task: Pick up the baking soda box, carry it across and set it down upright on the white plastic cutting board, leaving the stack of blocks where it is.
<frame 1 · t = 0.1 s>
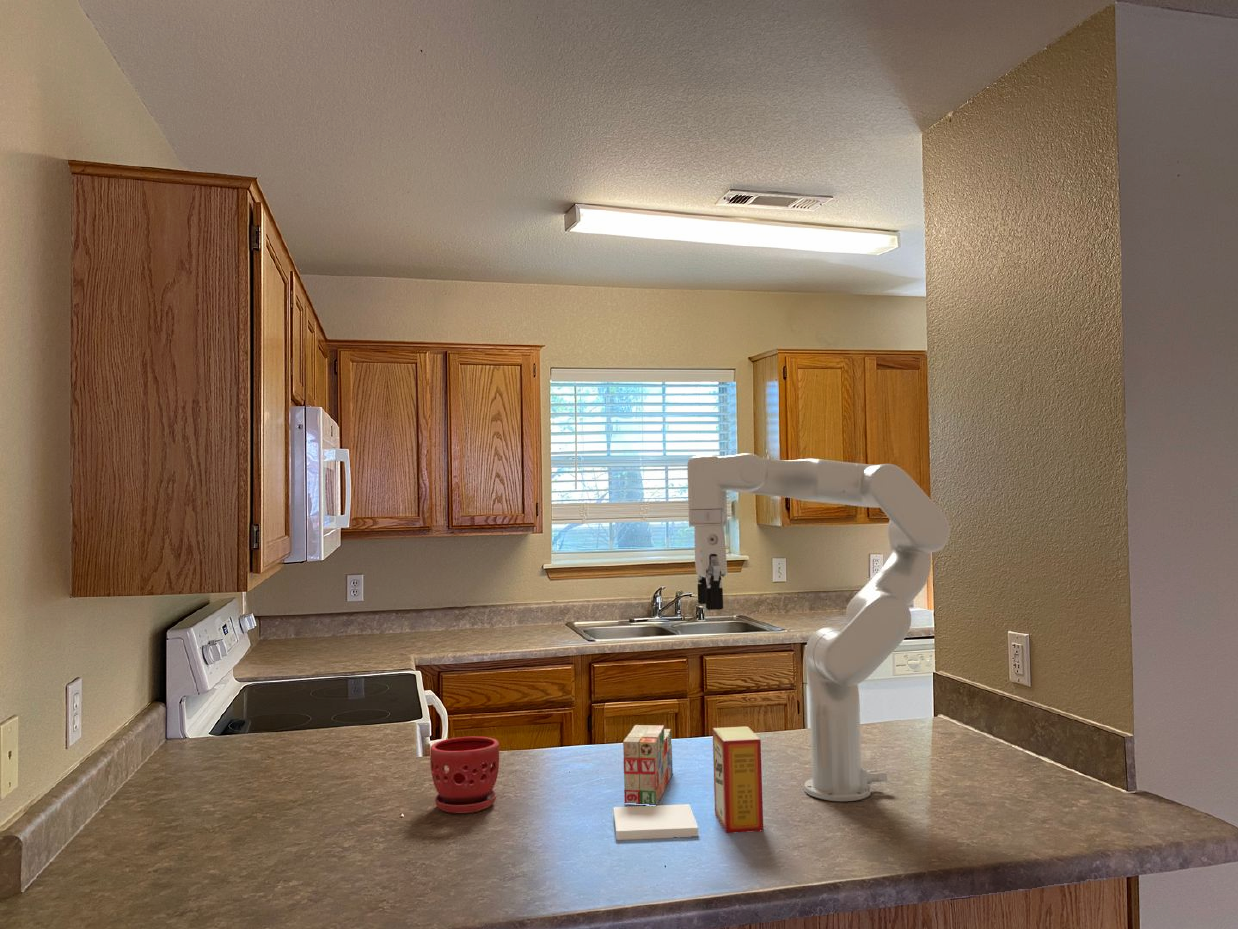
hand: (710, 606, 175), 37 cm above the worktop, tool pointing down, fingers open, 9 cm apart
stack of blocks: (650, 789, 180), on the worktop
cutting board: (654, 825, 159), on the worktop
baking soda box: (738, 823, 160), on the worktop
plant pot: (465, 806, 172), on the worktop
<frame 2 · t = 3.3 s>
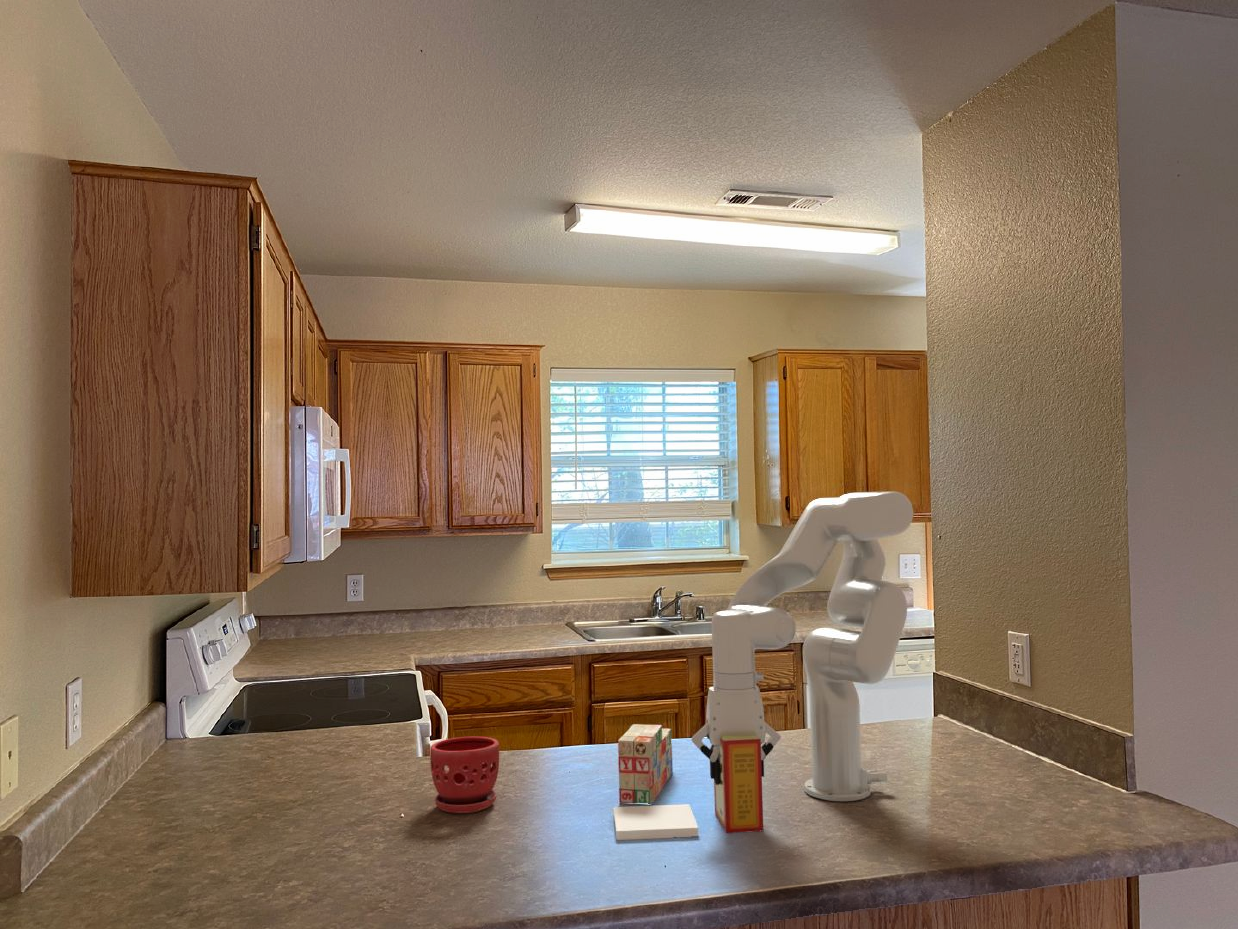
hand: (737, 780, 160), 7 cm above the worktop, tool pointing down, fingers closed on baking soda box, 6 cm apart
baking soda box: (738, 823, 160), on the worktop, touching gripper
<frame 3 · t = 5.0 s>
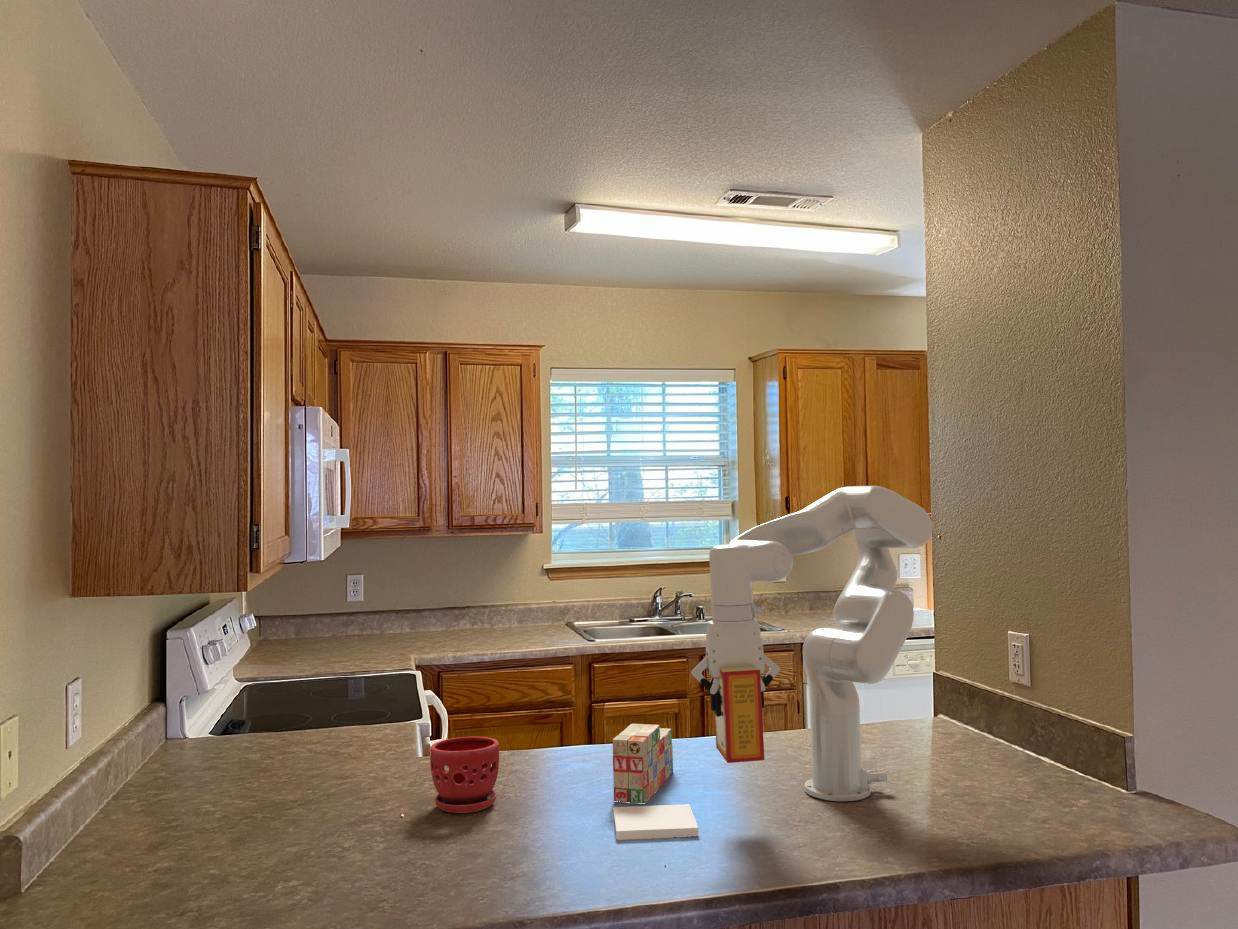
hand: (737, 712, 161), 19 cm above the worktop, tool pointing down, fingers closed on baking soda box, 6 cm apart
baking soda box: (739, 755, 161), point 12 cm above the worktop, touching gripper
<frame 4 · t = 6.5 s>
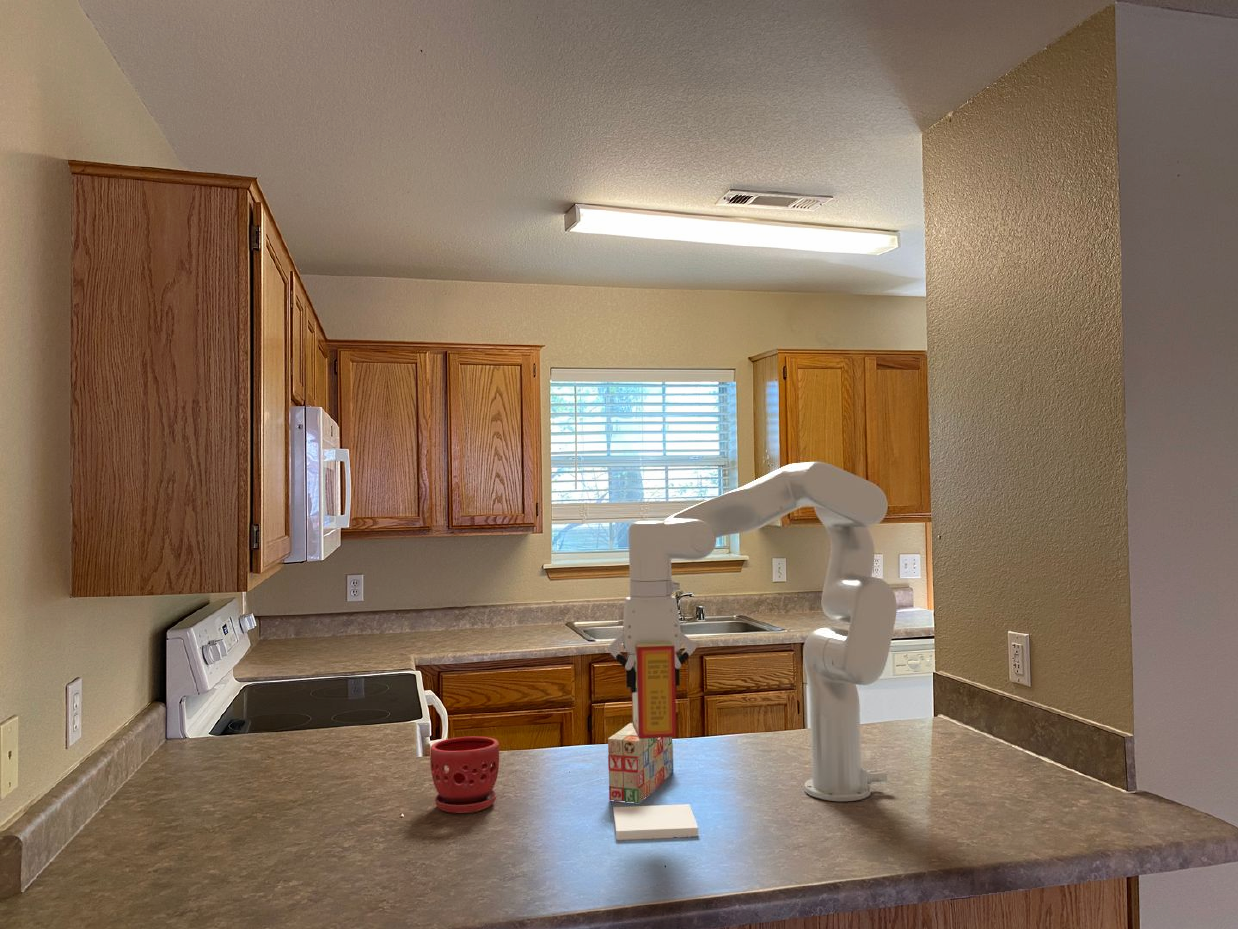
hand: (653, 690, 160), 24 cm above the worktop, tool pointing down, fingers closed on baking soda box, 6 cm apart
baking soda box: (654, 732, 160), point 16 cm above the worktop, touching gripper
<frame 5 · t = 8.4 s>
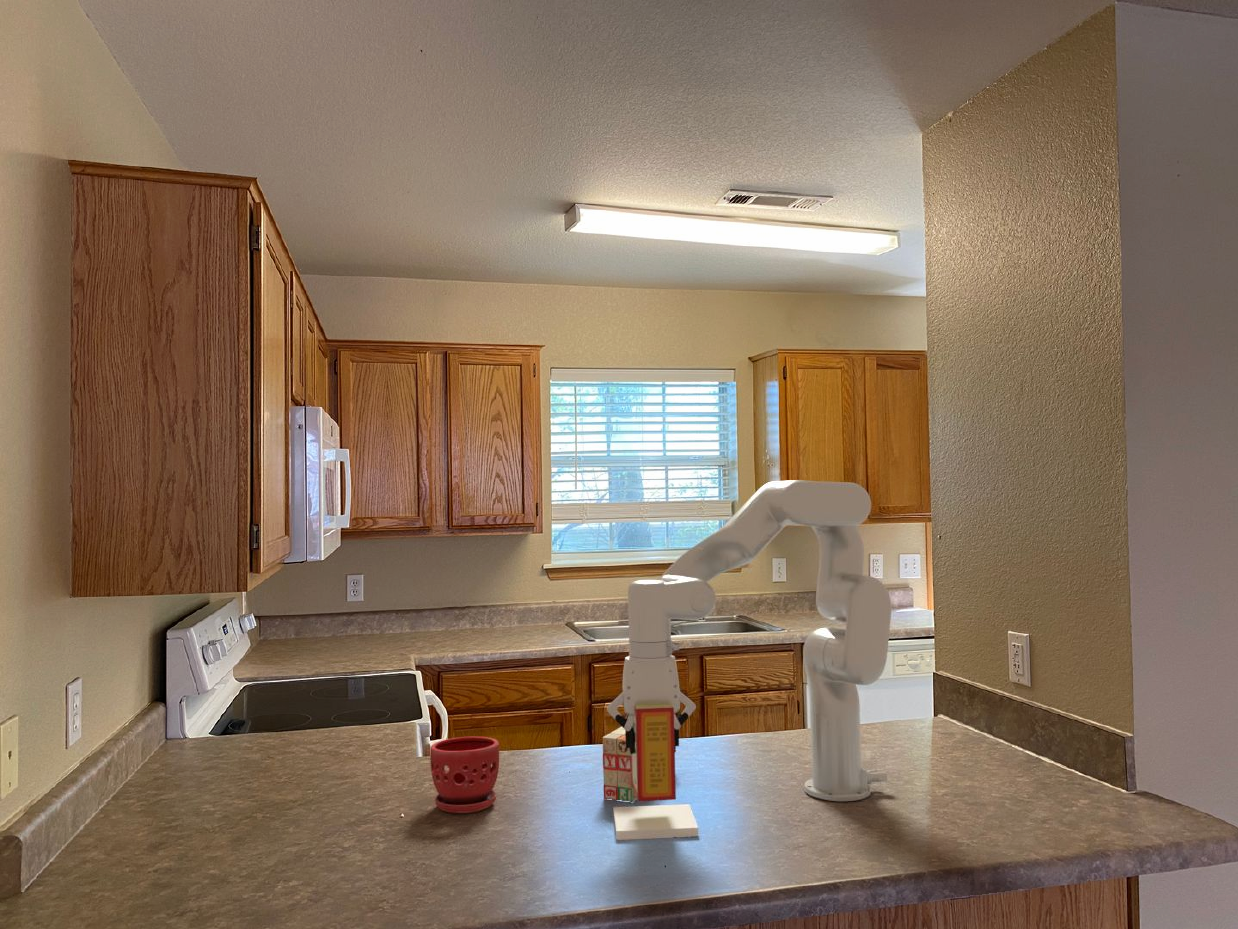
hand: (652, 750, 159), 13 cm above the worktop, tool pointing down, fingers closed on baking soda box, 6 cm apart
baking soda box: (653, 793, 159), point 6 cm above the worktop, touching gripper
when the fingers open (11 cm above the worktop, at t = 9.9 s): baking soda box drops 2 cm, resting on cutting board.
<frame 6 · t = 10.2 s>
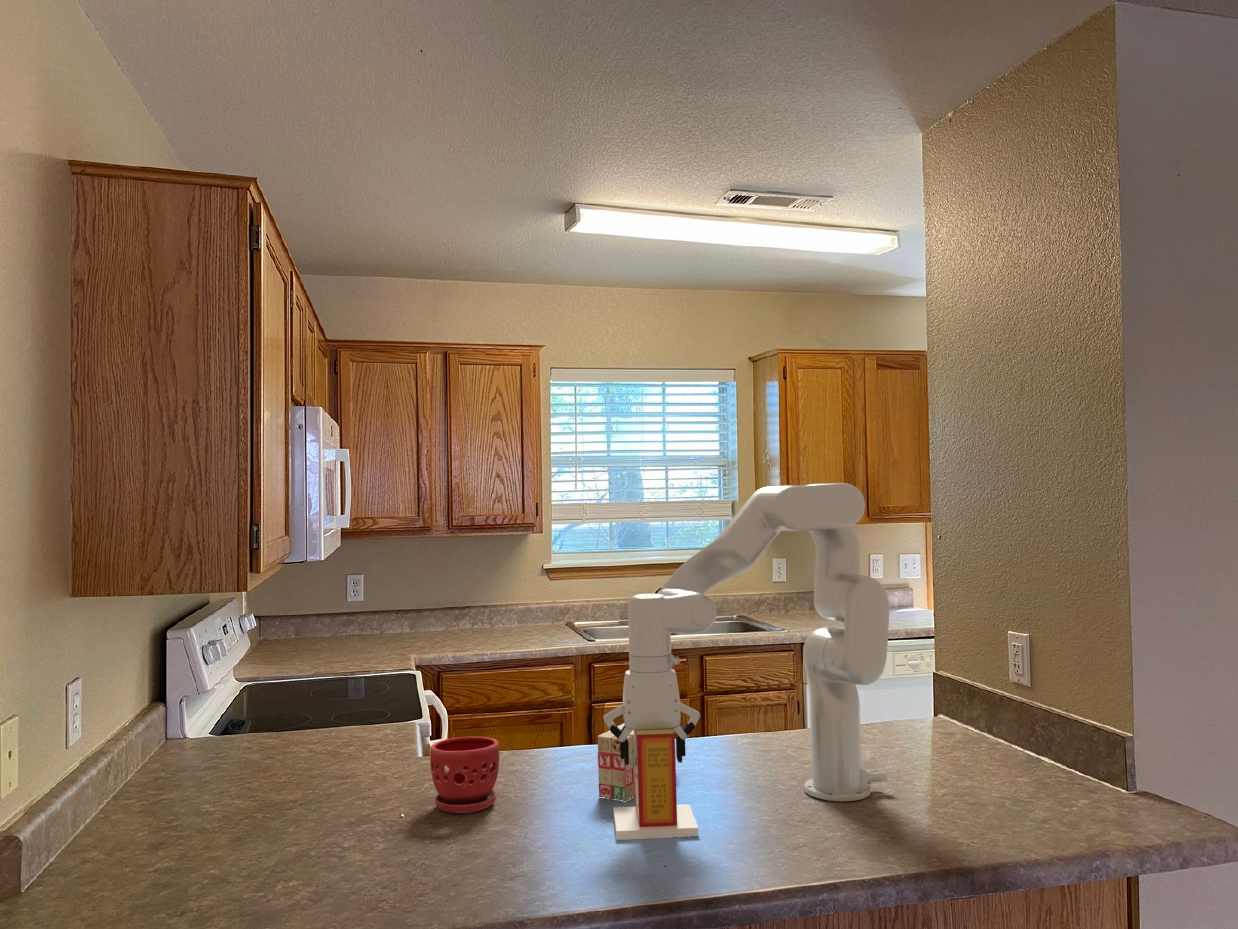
hand: (652, 761, 159), 11 cm above the worktop, tool pointing down, fingers open, 9 cm apart
baking soda box: (655, 818, 159), point 1 cm above the worktop, touching cutting board
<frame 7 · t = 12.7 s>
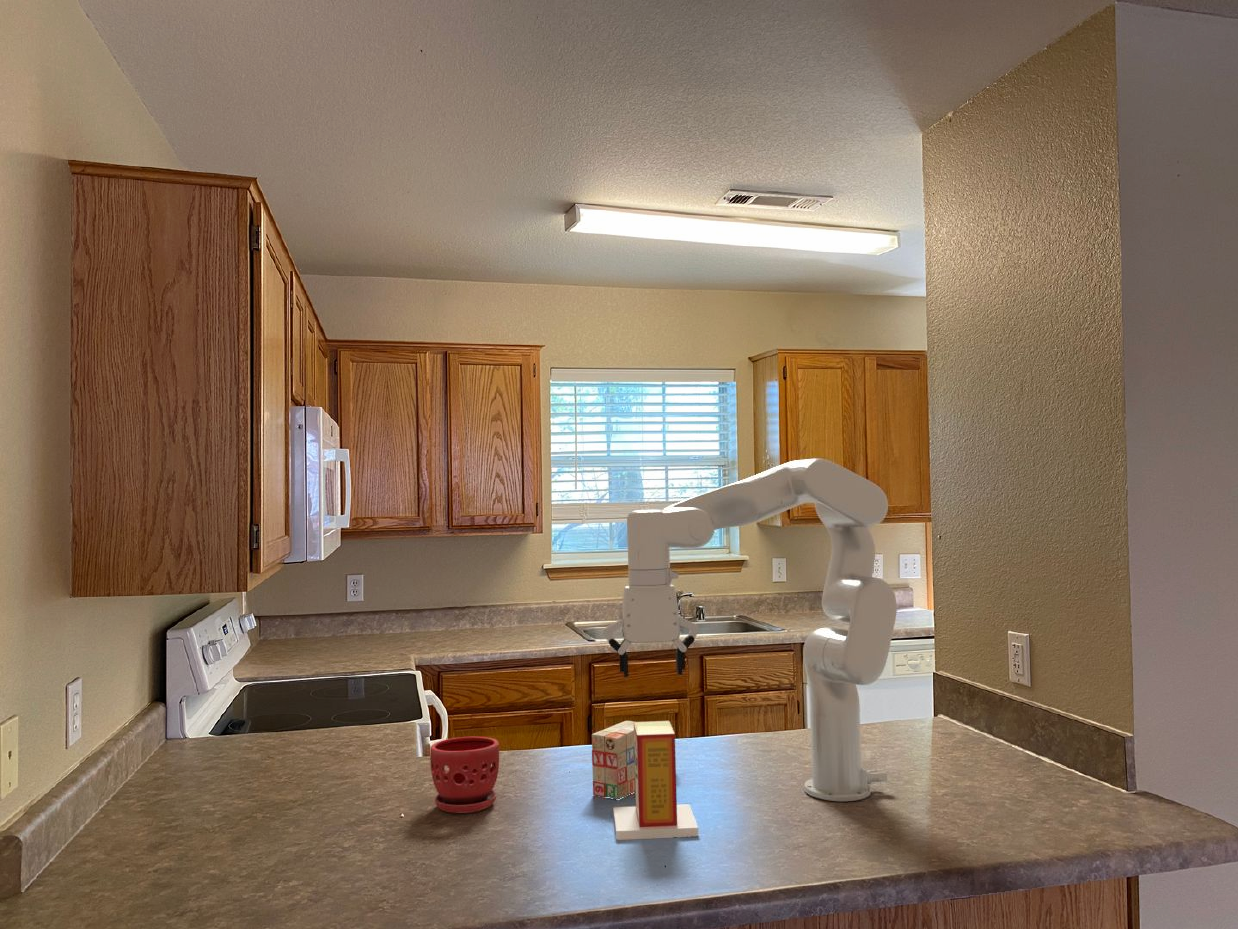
hand: (652, 674, 161), 26 cm above the worktop, tool pointing down, fingers open, 9 cm apart
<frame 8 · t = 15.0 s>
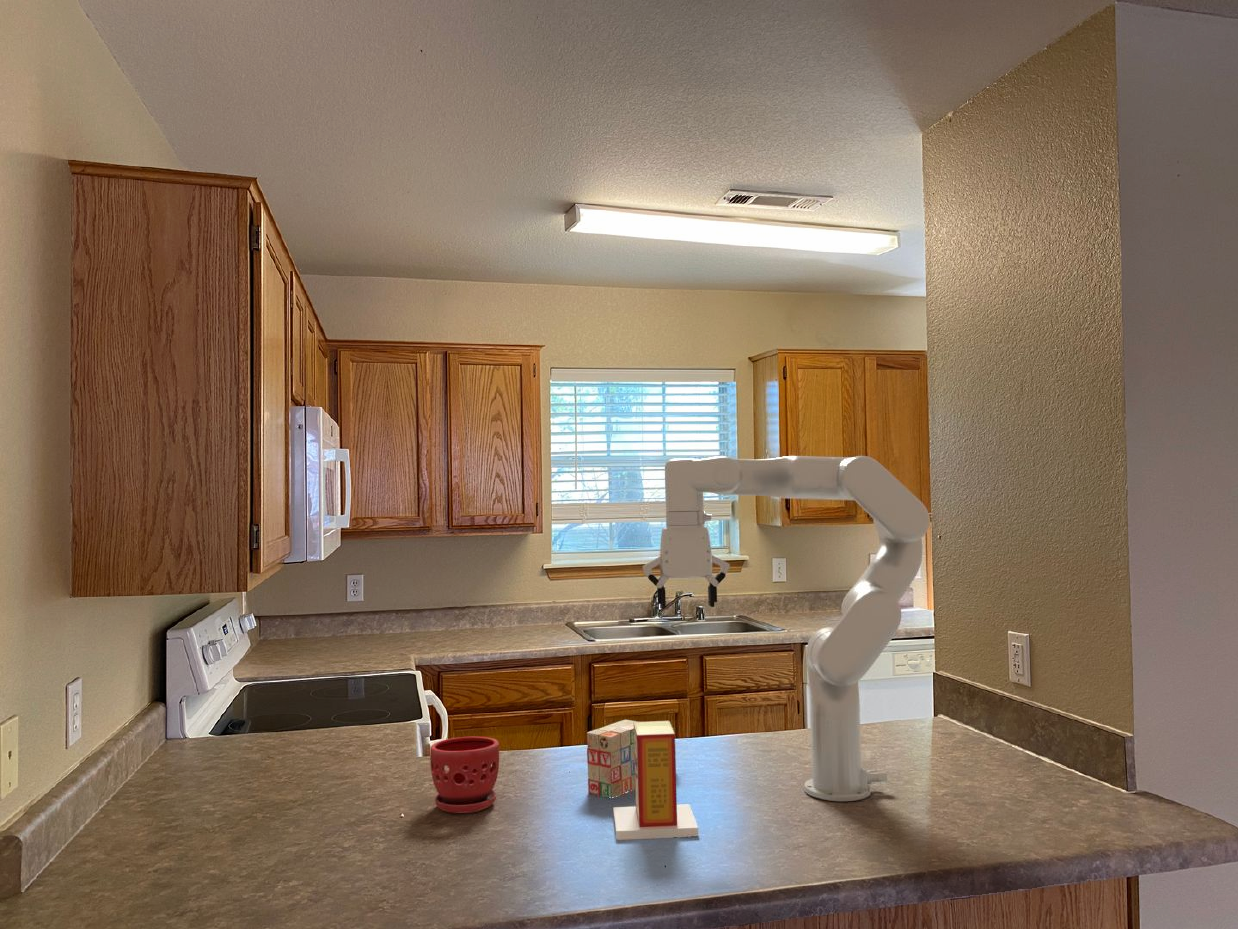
hand: (687, 607, 178), 36 cm above the worktop, tool pointing down, fingers open, 9 cm apart
at the end: baking soda box inside the target area on the cutting board (0.3 cm from its centre), point 1.3 cm above the cutting board's base; baking soda box tilted 0°; stack of blocks inside the target area (5.5 cm from its centre), on the worktop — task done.
